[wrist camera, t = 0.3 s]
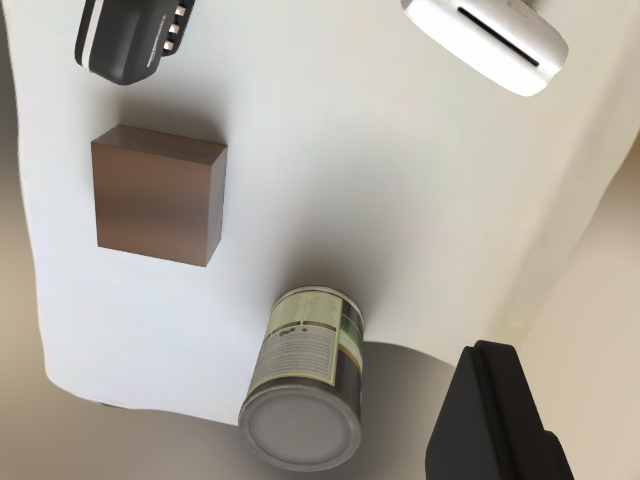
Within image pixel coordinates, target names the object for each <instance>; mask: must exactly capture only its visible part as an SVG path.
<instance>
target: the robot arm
mask: <svg viewBox="0 0 640 480" xmlns="http://www.w3.org/2000/svg"><path fill="white" fill-rule="evenodd" d="M425 471H426V480H574V477H573V475H572V472H571V469H570V467H569V464H568V462H567V459H566V456H565V453H564V451H563V448H562V446H561V444H560V442H559V440H558V438H557V436H555V435H554V434H553V433H552V432H551V431H546V430H544V428H543V425H542V422H541V419H540V417H539V414H538V411H537V408H536V406H535V403H534V400H533V397H532V394H531V391H530V389H529V386H528V383H527V380H526V378H525V375H524V372H523V369H522V366H521V364H520V361H519V358H518V355H517V353H516V350H515V348H514V347H513V346H511V345H507V344H501V343H495V342H490V341H484V340H478V341H477V342H476V343H475V346H474V347H469V346H466V347H465V348H464V349H463V351H462V354H461V357H460V359H459V362H458V365H457V368H456V370H455V373H454V376H453V378H452V381H451V384H450V387H449V389H448V392H447V395H446V397H445V400H444V403H443V406H442V408H441V411H440V414H439V416H438V419H437V422H436V425H435V427H434V430H433V433H432V436H431V438H430V441H429V444H428V447H427V450H426V458H425Z"/></svg>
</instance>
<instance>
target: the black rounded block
mask: <svg viewBox="0 0 640 480" xmlns="http://www.w3.org/2000/svg"><path fill="white" fill-rule="evenodd" d="M194 3H195V0H86V3H85V7H84V10H83V14H82V18H81V23H80V27H79V32H78V36H77V40H76V45H75V59H76V62H77V63H78V64H79V65H81V66H82V67H83V68H84V69H85V70H86V71H88V72H90V73H96V74H98V75H100V76H101V77H103V78H105V79H107V80H109V81H111V82H113V83H116V84H118V85H130V84H133V83H135V82H138V81H141V80H143V79H145V78H147V77H149V76H150V75H152V74H153V73H154V72H156V69H157V67H158V64H159V61H160V58H161V57H164V56H169V55H172V54H174V53H176V51H177V50H178V48H179V46H180V43H181V40H182V38H183V35H184V32H185V29H186V26H187V23H188V21H189V18H190V15H191V12H192V9H193V6H194Z"/></svg>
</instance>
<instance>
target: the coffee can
mask: <svg viewBox="0 0 640 480" xmlns="http://www.w3.org/2000/svg"><path fill="white" fill-rule="evenodd" d="M363 335H364V319H363V316H362V314H361V312H360V310H359V308H358V307H357V306H356V304H355V303H354V302H353V301H352V300H351V299H350V298H348V297H347V296H346V295H344V294H343V293H341V292H339V291H336V290H334V289H331V288H327V287H321V286H304V287H300V288H297V289H293V290H291V291H289V292H287V293H286V294H284V295H283V296H282V297H281V298H279V300H278V301H277V302H276V303H275V304H274V306H273V308H272V310H271V313H270V318H269V323H268V326H267V330H266V333H265V336H264V340H263V343H262V346H261V349H260V353H259V356H258V359H257V363H256V366H255V370H254V373H253V376H252V379H251V383H250V386H249V389H248V393H247V396H246V399H245V401H244V403H243V405H242V407H241V410H240V414H239V418H238V426H239V430H240V434H241V436H242V438H243V440H244V441H245V443H246V444H247V445H248V447H249V448H250V449H251V450H252V451H253V452H254V453H255V454H257V455H258V456H259V457H260V458H262V459H264V460H266V461H267V462H269V463H272V464H274V465H277V466H279V467H283V468H286V469H290V470H295V471H319V470H325V469H329V468H332V467H335V466H337V465H339V464H341V463H343V462H345V461H346V460H347V459H349V458H350V457H351V456H352V455H353V454H354V452H355V451H356V450H357V448H358V446H359V444H360V441H361V433H362V432H361V431H362V429H361V428H362V427H361V421H360V417H361V385H362V357H363Z"/></svg>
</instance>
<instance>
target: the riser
mask: <svg viewBox="0 0 640 480" xmlns="http://www.w3.org/2000/svg"><path fill="white" fill-rule="evenodd" d="M227 148H228V146H227V145H222V144H217V143H212V142H207V141H201V140H196V139H191V138H186V137H181V136H175V135H170V134H165V133H160V132H155V131H149V130H144V129H139V128H134V127H129V126H123V125H117V126H115V127H114V128H112V129H111V130H109V131H107V132H106V133H104V134H103V135H101V136H100V137H98V138H97V139H95V140H94V141H92V142H91V151H92V166H93V181H94V196H95V212H96V227H97V242H98V247H103V248H108V249H113V250H119V251H124V252H129V253H134V254H139V255H144V256H150V257H155V258H160V259H165V260H170V261H175V262H180V263H186V264H191V265H196V266H201V267H206V266H207V264H208V262H209V260H210V259H211V257H212V255H213V253H214V251H215V249H216V248H217V246H218V244H219V242H220V240H221V227H222V213H223V200H224V187H225V174H226V161H227Z"/></svg>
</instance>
